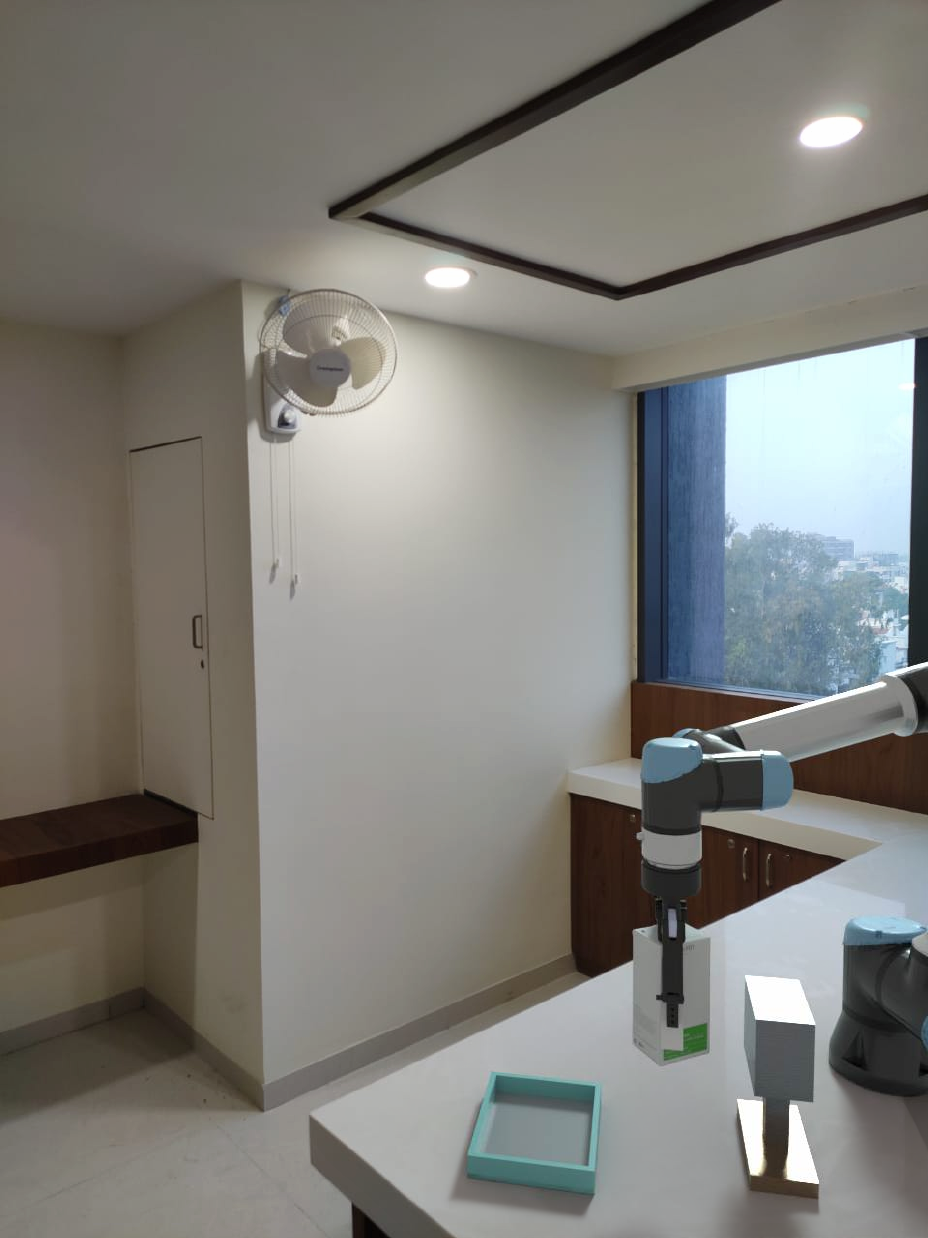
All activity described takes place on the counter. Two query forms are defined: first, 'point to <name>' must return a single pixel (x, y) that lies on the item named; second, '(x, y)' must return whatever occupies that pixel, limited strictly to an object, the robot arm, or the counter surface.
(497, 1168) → the tray
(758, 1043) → the mounted unit
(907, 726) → the robot arm
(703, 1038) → the skincare box
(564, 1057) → the counter surface
